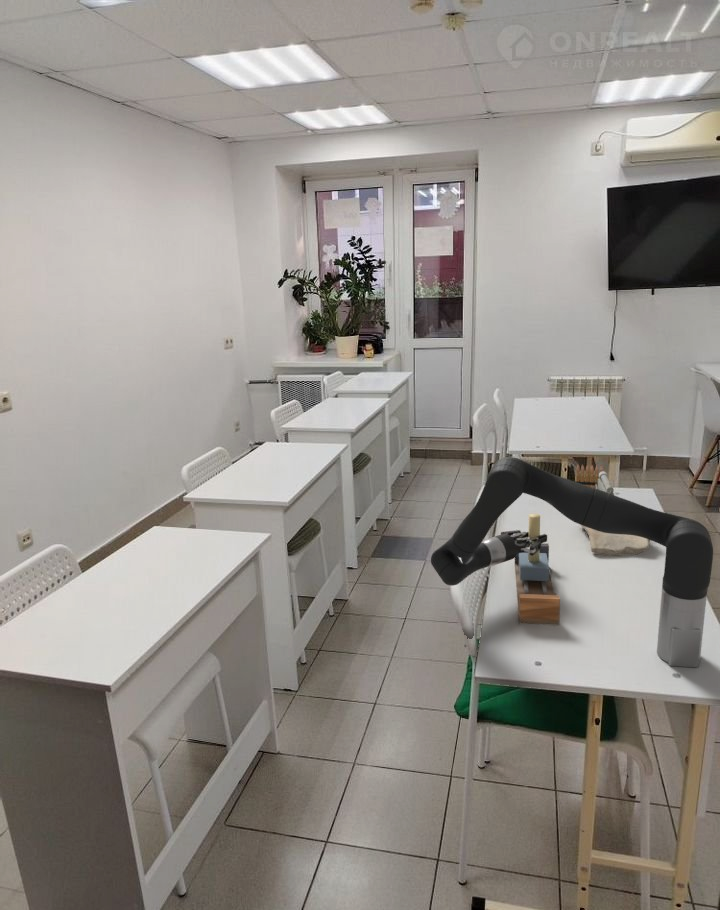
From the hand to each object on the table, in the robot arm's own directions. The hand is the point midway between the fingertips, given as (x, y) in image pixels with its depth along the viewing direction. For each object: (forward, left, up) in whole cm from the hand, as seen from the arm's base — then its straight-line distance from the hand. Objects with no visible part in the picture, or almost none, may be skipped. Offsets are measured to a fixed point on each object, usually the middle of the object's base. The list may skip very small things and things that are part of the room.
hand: (541, 535), depth 188 cm
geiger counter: (+54, -26, -14) cm, 61 cm away
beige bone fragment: (+29, -26, -15) cm, 41 cm away
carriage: (-2, +2, -11) cm, 12 cm away
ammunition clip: (+74, -24, -14) cm, 79 cm away
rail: (-8, +2, -14) cm, 16 cm away
